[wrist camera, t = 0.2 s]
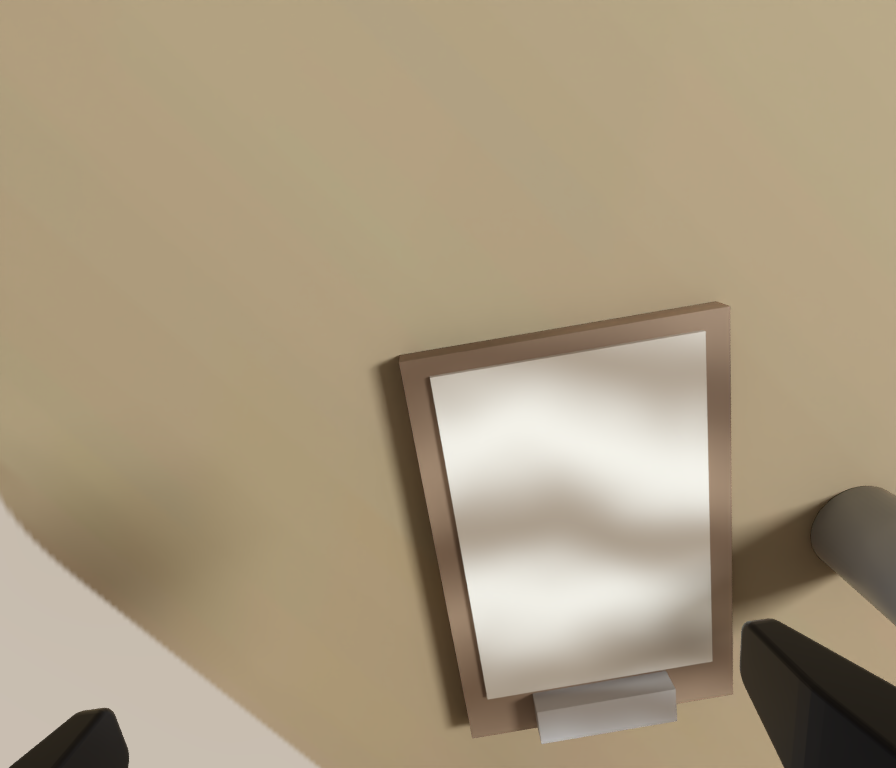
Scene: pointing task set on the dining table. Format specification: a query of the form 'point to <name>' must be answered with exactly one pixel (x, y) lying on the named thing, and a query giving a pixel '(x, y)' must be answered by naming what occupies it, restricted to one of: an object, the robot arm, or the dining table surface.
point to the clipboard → (582, 518)
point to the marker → (861, 543)
